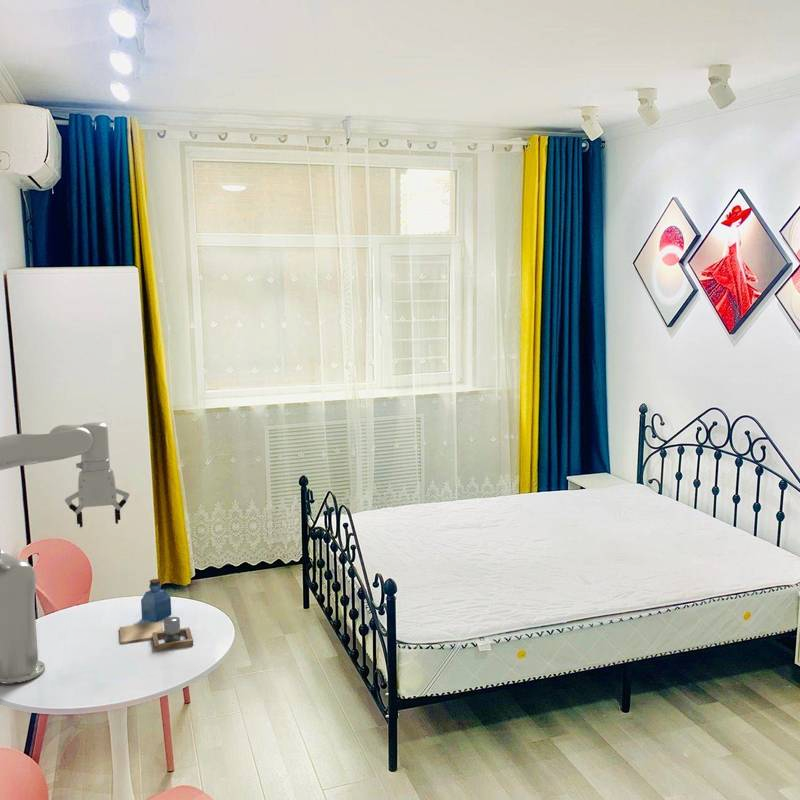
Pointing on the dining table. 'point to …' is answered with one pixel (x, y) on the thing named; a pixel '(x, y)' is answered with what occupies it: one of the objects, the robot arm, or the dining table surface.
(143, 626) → the mat
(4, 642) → the robot arm
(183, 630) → the collar
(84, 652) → the dining table surface
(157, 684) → the dining table surface
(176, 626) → the peg
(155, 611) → the perfume bottle
